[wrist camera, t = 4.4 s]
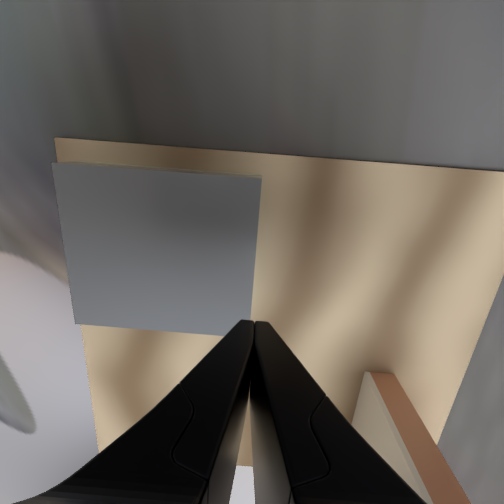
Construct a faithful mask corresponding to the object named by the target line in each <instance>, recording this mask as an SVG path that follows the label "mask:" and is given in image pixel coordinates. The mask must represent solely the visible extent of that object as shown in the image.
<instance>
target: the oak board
mask: <svg viewBox="0 0 504 504" xmlns="http://www.w3.org/2000/svg"><path fill="white" fill-rule="evenodd" d="M54 141H55V148H56V155H57V162H67V161H83V162H96V163H109V164H122V165H135V166H147V167H160V168H173V169H186V170H199V171H212V172H224V173H237V174H250V175H262V184H261V197H260V209H259V221H258V233H257V245H256V258H255V270H254V282H253V294H252V306H251V319H250V320H253V321H254V324H255V321H267V322H269V323H270V324H271V325H272V326H273V328H274V329H275V330H276V332H277V333H278V334H279V335H280V337H281V338H282V339H283V340H284V342H285V343H286V344H287V345H288V347H289V348H290V349H291V351H292V352H293V353H294V354H295V356H296V357H297V358H298V359H299V361H300V362H301V363H302V364H303V366H304V367H305V368H306V369H307V371H308V372H309V373H310V375H311V376H312V377H313V378H314V380H315V381H316V382H317V383H318V385H319V386H320V387H321V388H322V390H323V391H324V392H325V394H326V396H328V397H329V398H330V400H331V401H332V402H333V403H334V405H335V406H336V407H337V408H338V410H339V411H340V412H341V413H342V414H343V416H344V417H345V418H346V419H347V420H348V422H349V423H350V424H352V420H353V416H354V412H355V408H356V404H357V400H358V396H359V392H360V388H361V384H362V380H363V376H364V372H377V373H389V374H395V376H396V377H397V379H398V381H399V383H400V384H401V386H402V388H403V389H404V391H405V393H406V394H407V396H408V398H409V399H410V401H411V403H412V405H413V406H414V408H415V410H416V411H417V413H418V415H419V416H420V418H421V420H422V421H423V423H424V425H425V427H426V428H427V430H428V432H429V433H430V435H431V437H432V438H433V440H434V442H435V443H436V445H437V443H438V441H439V438H440V435H441V433H442V430H443V428H444V425H445V423H446V420H447V418H448V415H449V412H450V410H451V407H452V405H453V402H454V400H455V397H456V395H457V392H458V390H459V387H460V384H461V382H462V379H463V377H464V374H465V372H466V369H467V367H468V364H469V361H470V359H471V356H472V354H473V351H474V349H475V346H476V344H477V341H478V339H479V336H480V333H481V331H482V328H483V326H484V323H485V321H486V318H487V316H488V313H489V311H490V308H491V305H492V303H493V300H494V298H495V295H496V293H497V290H498V288H499V285H500V282H501V280H502V277H503V275H504V172H497V171H484V170H471V169H458V168H445V167H432V166H419V165H406V164H393V163H381V162H368V161H355V160H342V159H329V158H316V157H303V156H290V155H277V154H264V153H251V152H238V151H225V150H212V149H199V148H186V147H174V146H161V145H148V144H135V143H122V142H109V141H96V140H83V139H70V138H57V137H54ZM81 330H82V337H83V344H84V351H85V358H86V365H87V372H88V379H89V386H90V393H91V400H92V407H93V414H94V421H95V428H96V435H97V442H98V450H99V453H100V452H101V451H102V450H104V449H105V448H106V447H107V446H108V445H110V444H111V443H112V442H113V441H115V440H116V439H117V438H118V437H119V436H121V435H122V434H123V433H124V432H126V431H127V430H128V429H129V428H130V427H132V426H133V425H134V424H135V423H136V422H138V421H139V420H140V419H141V418H142V417H143V416H144V415H146V414H147V413H148V412H149V411H150V410H151V409H153V408H154V407H155V406H156V405H157V404H158V403H159V402H160V401H161V400H162V399H163V398H164V397H165V396H166V395H167V394H168V393H169V392H170V391H171V390H172V389H173V388H174V387H175V386H176V385H177V384H179V382H180V381H181V380H182V379H183V378H184V377H185V376H186V375H187V374H188V373H189V372H190V371H191V370H192V369H193V368H194V367H195V366H196V365H197V364H198V363H199V362H200V361H201V360H202V359H203V358H204V357H205V356H206V354H207V353H208V352H209V351H210V350H211V349H212V348H213V347H214V346H215V345H216V344H217V343H218V342H219V341H220V340H221V339H222V338H223V337H224V336H216V335H204V334H192V333H179V332H167V331H155V330H143V329H131V328H118V327H106V326H94V325H82V324H81ZM249 393H250V390H249ZM236 465H241V466H252V467H253V457H252V440H251V424H250V407H249V400H248V406H247V412H246V417H245V422H244V427H243V433H242V438H241V443H240V448H239V454H238V459H237V464H236Z"/></svg>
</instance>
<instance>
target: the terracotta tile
mask: <svg viewBox="0 0 504 504" xmlns="http://www.w3.org/2000/svg"><path fill="white" fill-rule="evenodd" d="M351 425H352V426H353V427H354V428H355V429H356V430H357V432H358V433H359V434H360V435H361V436H362V437H363V438H364V439H365V440H366V441H367V442H368V443H369V444H370V446H371V447H372V448H373V449H374V450H375V451H376V452H377V453H378V454H379V455H380V456H381V457H382V458H383V459H384V460H385V461H386V462H387V463H388V464H389V465H390V466H391V467H392V468H393V469H394V470H395V471H396V472H397V473H398V474H399V476H400V477H401V478H402V479H403V480H404V481H405V482H406V483H407V484H408V485H409V486H410V487H411V488H412V489H413V490H414V491H415V492H416V493H417V494H418V495H419V496H420V497H421V498H422V499H423V500H424V501H425V502H426V503H427V504H471V503H470V501H469V499H468V498H467V496H466V494H465V492H464V491H463V489H462V487H461V486H460V484H459V482H458V481H457V479H456V477H455V476H454V474H453V472H452V470H451V469H450V467H449V465H448V464H447V462H446V460H445V459H444V457H443V455H442V454H441V452H440V450H439V448H438V447H437V445H436V443H435V442H434V440H433V438H432V437H431V435H430V433H429V432H428V430H427V428H426V427H425V425H424V423H423V421H422V420H421V418H420V416H419V415H418V413H417V411H416V410H415V408H414V406H413V405H412V403H411V401H410V399H409V398H408V396H407V394H406V393H405V391H404V389H403V388H402V386H401V384H400V383H399V381H398V379H397V377H396V376H395V374H389V373H377V372H364V376H363V380H362V384H361V388H360V392H359V396H358V400H357V404H356V408H355V412H354V416H353V420H352V424H351Z"/></svg>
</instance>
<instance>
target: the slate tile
mask: <svg viewBox="0 0 504 504" xmlns="http://www.w3.org/2000/svg"><path fill="white" fill-rule="evenodd" d="M51 166H52V172H53V179H54V186H55V192H56V199H57V206H58V212H59V219H60V226H61V232H62V239H63V246H64V252H65V259H66V266H67V273H68V279H69V286H70V293H71V299H72V306H73V313H74V319H75V324H82V325H94V326H106V327H118V328H131V329H143V330H155V331H167V332H179V333H192V334H204V335H216V336H225V335H226V334H227V333H228V332H229V331H230V330H231V329H232V328H233V327H234V326H235V325H236V324H237V323H238V322H239V321H240V320H241V319H244V320H250V319H251V306H252V294H253V282H254V270H255V258H256V245H257V233H258V221H259V209H260V197H261V184H262V175H250V174H237V173H224V172H212V171H199V170H186V169H173V168H160V167H147V166H135V165H122V164H109V163H96V162H83V161H67V162H51Z"/></svg>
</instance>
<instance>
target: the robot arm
mask: <svg viewBox="0 0 504 504" xmlns="http://www.w3.org/2000/svg"><path fill="white" fill-rule="evenodd" d="M249 390H250V393H249ZM248 400H249V407H250V424H251V440H252V457H253V473H254V488H255V504H427V503H426V502H425V501H424V500H423V499H422V498H421V497H420V496H419V495H418V494H417V493H416V492H415V491H414V490H413V489H412V488H411V487H410V486H409V485H408V484H407V483H406V482H405V481H404V480H403V479H402V478H401V477H400V476H399V474H398V473H397V472H396V471H395V470H394V469H393V468H392V467H391V466H390V465H389V464H388V463H387V462H386V461H385V460H384V459H383V458H382V457H381V456H380V455H379V454H378V453H377V452H376V451H375V450H374V449H373V448H372V447H371V446H370V444H369V443H368V442H367V441H366V440H365V439H364V438H363V437H362V436H361V435H360V434H359V433H358V432H357V430H356V429H355V428H354V427H353V426H352V425H351V424H350V423H349V422H348V420H347V419H346V418H345V417H344V416H343V414H342V413H341V412H340V411H339V410H338V408H337V407H336V406H335V405H334V403H333V402H332V401H331V400H330V398H329V397H328V396H326V394H325V392H324V391H323V390H322V388H321V387H320V386H319V385H318V383H317V382H316V381H315V380H314V378H313V377H312V376H311V375H310V373H309V372H308V371H307V369H306V368H305V367H304V366H303V364H302V363H301V362H300V361H299V359H298V358H297V357H296V356H295V354H294V353H293V352H292V351H291V349H290V348H289V347H288V345H287V344H286V343H285V342H284V340H283V339H282V338H281V337H280V335H279V334H278V333H277V332H276V330H275V329H274V328H273V326H272V325H271V324H270V323H269V322H267V321H255V324H254V321H253V320H244V319H241V320H240V321H239V322H238V323H237V324H236V325H235V326H234V327H233V328H232V329H231V330H230V331H229V332H228V333H227V334H226V335H225V336H224V337H223V338H222V339H221V340H220V341H219V342H218V343H217V344H216V345H215V346H214V347H213V348H212V349H211V350H210V351H209V352H208V353H207V354H206V356H205V357H204V358H203V359H202V360H201V361H200V362H199V363H198V364H197V365H196V366H195V367H194V368H193V369H192V370H191V371H190V372H189V373H188V374H187V375H186V376H185V377H184V378H183V379H182V380H181V381H180V382H179V384H177V385H176V386H175V387H174V388H173V389H172V390H171V391H170V392H169V393H168V394H167V395H166V396H165V397H164V398H163V399H162V400H161V401H160V402H159V403H158V404H157V405H156V406H155V407H154V408H153V409H151V410H150V411H149V412H148V413H147V414H146V415H144V416H143V417H142V418H141V419H140V420H139V421H138V422H136V423H135V424H134V425H133V426H132V427H130V428H129V429H128V430H127V431H126V432H124V433H123V434H122V435H121V436H119V437H118V438H117V439H116V440H115V441H113V442H112V443H111V444H110V445H108V446H107V447H106V448H105V449H104V450H102V451H101V452H100V453H99V454H98V455H96V456H95V457H94V458H93V459H91V460H90V461H89V462H88V463H87V464H85V465H84V466H83V467H82V468H80V469H79V470H78V471H76V472H75V473H74V474H73V475H71V476H70V477H69V478H67V479H66V480H64V481H63V482H61V483H60V484H58V485H56V486H55V487H53V488H51V489H49V490H48V491H46V492H44V493H41V494H39V495H37V496H35V497H32V498H29V499H26V500H23V501H20V502H16V503H13V504H229V500H230V495H231V490H232V485H233V479H234V474H235V469H236V464H237V459H238V454H239V448H240V443H241V438H242V433H243V427H244V422H245V417H246V412H247V406H248Z"/></svg>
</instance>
